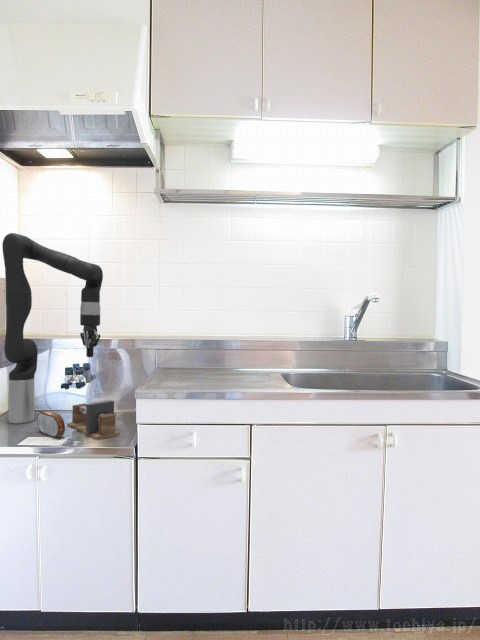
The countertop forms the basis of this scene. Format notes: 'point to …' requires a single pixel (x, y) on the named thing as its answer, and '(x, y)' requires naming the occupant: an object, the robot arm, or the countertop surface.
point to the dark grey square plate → (93, 412)
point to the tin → (51, 423)
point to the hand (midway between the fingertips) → (89, 356)
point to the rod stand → (104, 423)
